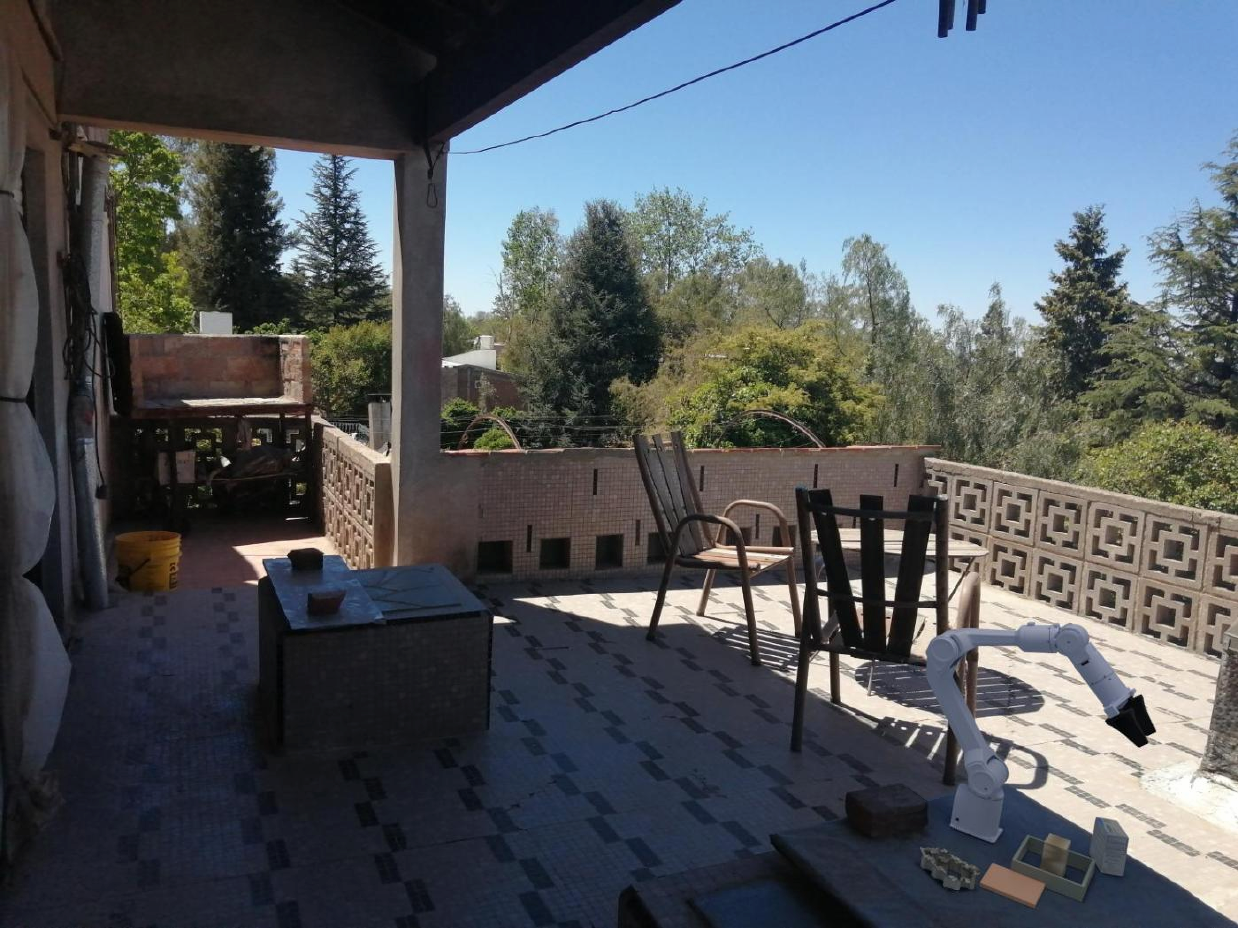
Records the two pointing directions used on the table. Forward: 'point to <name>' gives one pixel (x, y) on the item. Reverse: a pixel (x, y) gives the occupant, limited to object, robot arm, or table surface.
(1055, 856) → the block
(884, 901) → the table surface
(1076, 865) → the bin
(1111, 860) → the medicine box
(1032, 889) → the pad
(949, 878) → the egg carton
